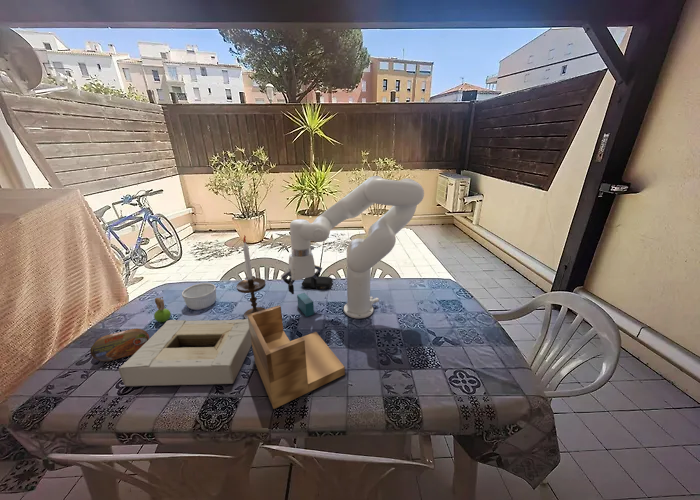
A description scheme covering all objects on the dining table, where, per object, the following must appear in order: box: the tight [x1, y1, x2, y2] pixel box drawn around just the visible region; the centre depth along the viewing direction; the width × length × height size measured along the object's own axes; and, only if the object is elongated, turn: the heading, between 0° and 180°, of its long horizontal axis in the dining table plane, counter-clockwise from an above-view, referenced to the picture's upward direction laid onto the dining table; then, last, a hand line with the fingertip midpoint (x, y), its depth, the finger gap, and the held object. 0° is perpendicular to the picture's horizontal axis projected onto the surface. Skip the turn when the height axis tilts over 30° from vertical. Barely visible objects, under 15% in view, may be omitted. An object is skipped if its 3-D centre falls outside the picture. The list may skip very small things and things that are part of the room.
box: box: [118, 318, 252, 387], centre depth 88 cm, size 23×8×32 cm
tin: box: [89, 328, 150, 362], centre depth 90 cm, size 15×3×8 cm, turn 117°
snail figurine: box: [153, 296, 171, 323], centre depth 106 cm, size 5×6×12 cm
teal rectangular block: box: [296, 292, 315, 317], centre depth 114 cm, size 4×9×6 cm, turn 32°
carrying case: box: [301, 275, 334, 290], centre depth 136 cm, size 11×3×15 cm
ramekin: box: [181, 282, 217, 311], centre depth 120 cm, size 13×13×7 cm
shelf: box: [247, 304, 346, 410], centre depth 82 cm, size 22×20×18 cm
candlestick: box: [236, 234, 267, 319], centre depth 106 cm, size 11×11×35 cm
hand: (302, 289), depth 112 cm, fingers open, 9 cm apart
